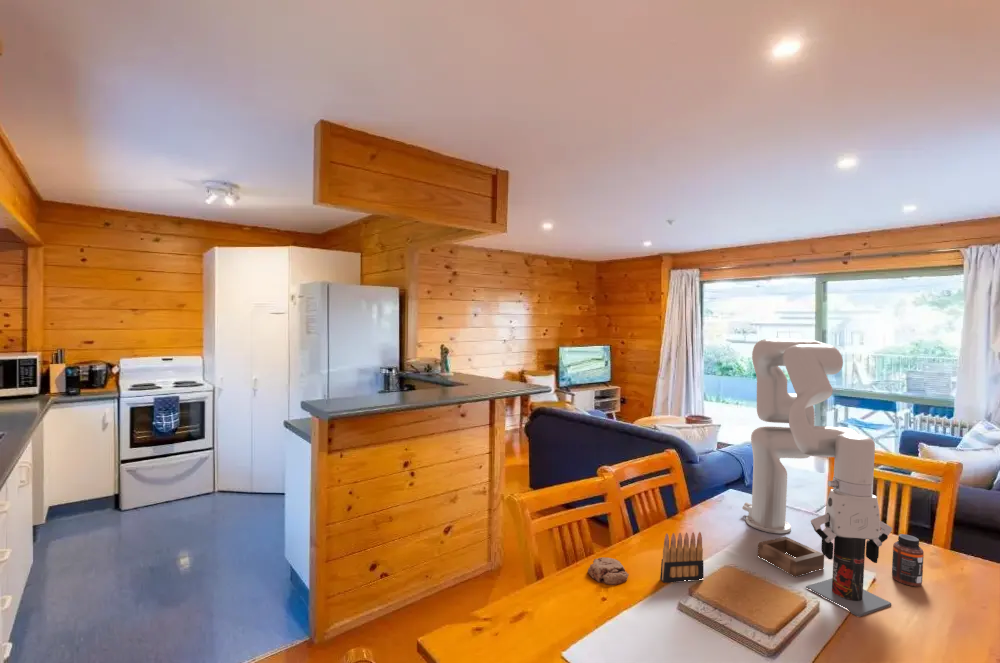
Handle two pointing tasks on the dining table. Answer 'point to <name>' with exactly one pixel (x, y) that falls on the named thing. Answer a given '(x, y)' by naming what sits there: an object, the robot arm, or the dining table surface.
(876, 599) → the mat
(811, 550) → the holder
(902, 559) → the supplement bottle
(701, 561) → the ammunition clip
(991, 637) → the dining table surface
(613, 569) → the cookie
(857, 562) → the deodorant
